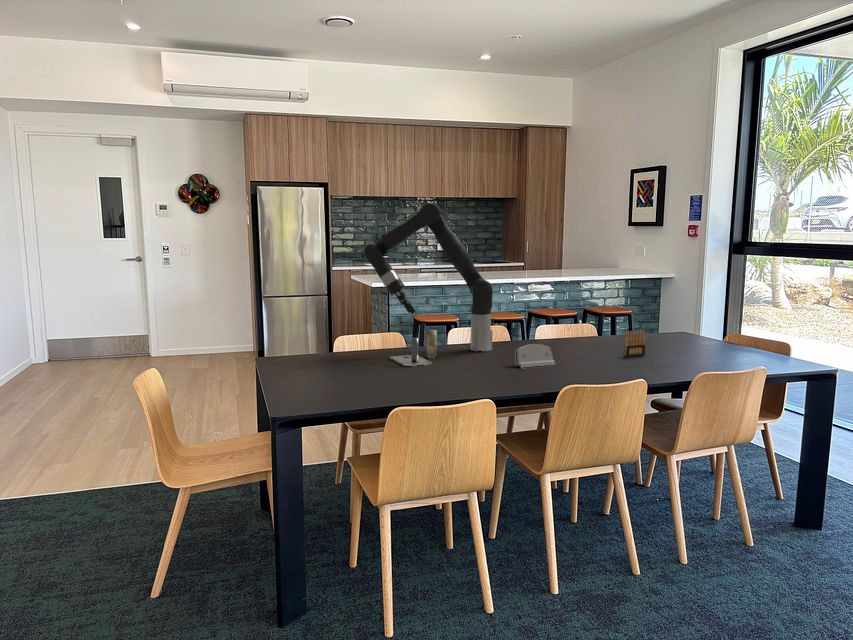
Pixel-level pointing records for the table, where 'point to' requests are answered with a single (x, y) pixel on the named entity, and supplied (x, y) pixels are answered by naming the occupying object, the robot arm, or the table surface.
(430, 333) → the oak post
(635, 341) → the ammunition clip
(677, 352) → the table surface
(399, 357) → the bolt plate
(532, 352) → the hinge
